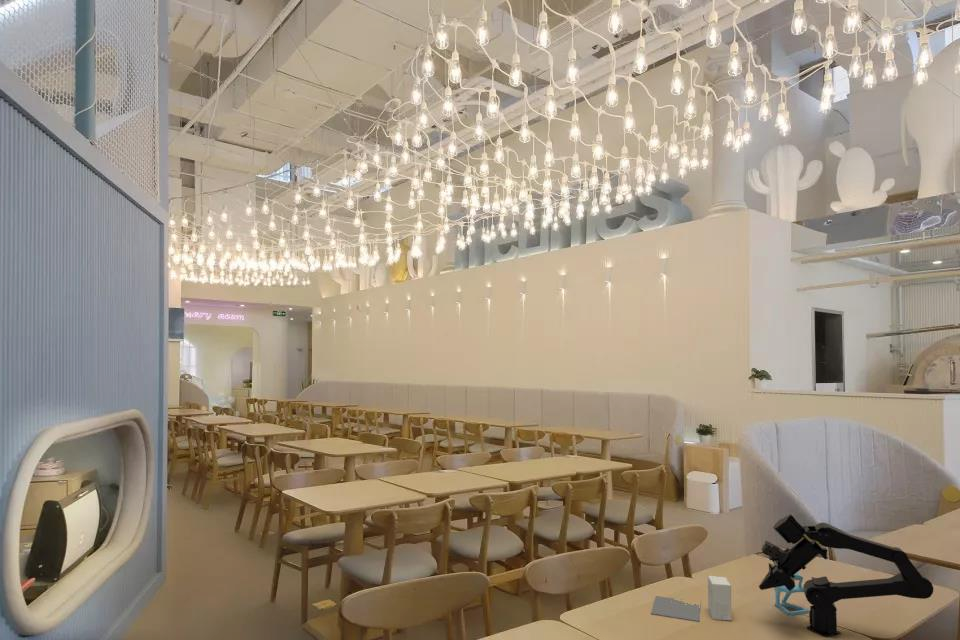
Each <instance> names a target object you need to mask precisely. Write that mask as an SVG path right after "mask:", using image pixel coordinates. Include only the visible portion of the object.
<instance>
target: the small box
mask: <svg viewBox="0 0 960 640" xmlns="http://www.w3.org/2000/svg"><path fill="white" fill-rule="evenodd" d="M707 604H708V605H707V610H708V609H709V610H708V612H709V614H710V616H711V618H712V620H717V621H719V620H720V621H732V585H731V583H730V581H729V580H728V578H727V577H726V576H714V575H708V576H707Z"/></svg>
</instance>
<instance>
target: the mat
mask: <svg viewBox="0 0 960 640" xmlns="http://www.w3.org/2000/svg"><path fill="white" fill-rule="evenodd" d="M674 599H675V598H674V597H673V598H672V597H665V596H659V595H655V598H654V602H653V605H652V608H651V613H650V615H655V616H660V617H664V618H665V617H666V618H673V619H677V620H678V619H679V620H683V621H684V620H685V621H690V622H697V623H698V622H700V615H701V607H700V608H699V605H696V604H694V605H691V604H688V603H684V602H682V601H678V600H674ZM671 601H672V602H671ZM685 604H687V605H685Z"/></svg>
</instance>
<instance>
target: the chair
mask: <svg viewBox="0 0 960 640" xmlns="http://www.w3.org/2000/svg"><path fill="white" fill-rule="evenodd" d="M793 579H794V581H799V582H798V584H797V585H798V586H797V585H796V584H795V587H794V588H793V589H792V590H791V591H789V590H788V589H787V588H786V587H785V586H779V587H774V592H775V598H774V599H775V602H774V603H775V606H776V607H778V609H780V610H781V611H782V612H784V613H785V614H786V615H788V616H790V615H791V616H798V615H806V614H808V613H809V609H807V608H805V607H802V606H799V605H795V604H792V603H789V602H787V601H788V599H789V598H790V596H791V595H792V594H793V593H804V591H803V587H802V584H803V583H802V582H803V580H804V577H803V576H802V575H801V574H800V573H799V572H797V573H796V574H795V577H794V578H793ZM781 593H785V595H784V597H783V598H782V599H780V598H781V597H780V595H781ZM780 600H781V603H780ZM786 607H787V608H790V609H794V610H791V611H790V610H789V609H787V608H786Z"/></svg>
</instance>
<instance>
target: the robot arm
mask: <svg viewBox="0 0 960 640" xmlns="http://www.w3.org/2000/svg"><path fill="white" fill-rule="evenodd" d="M772 529H773V530H774V531H775V532H776V533H777V534H778V535H779V536H780V537H781V538H782V539H783V541H785V542H786V543H787V544H790V543H791V544H792V545H794V546H792V547H791V548H790V547H786V549H782V548H781V547H780V546H778V545H776V544H774V543H772V542H771V541H768V540H765V541H764V544H763V545H762V546H761V549H760V550H761V553H762V554H763V555H765V556H768V560H769V561H772V562H773V563H772V564H771V563H770V562H769V563H768V572H767V573H766V574H765V576H764V578H763V579H762V581H761V582H760V584H759V585H758V588H759V589H760V591H764V590H769V589H773V588H774V587H779V586H785V587H786V588H787V589H788V590H789V591H791V590H792V589H793V588H794V587H795V585H796V582H795V581H796V580H794V579H793V578H794V577H795V574H796V573H799V572H800V571H802V570H803V571H804V570H806V569H807V567H806V566H807V565H808V564H809V563H811V562H812V561H813V560H815V559H816V558H817V557H818V556H821V557H822V558H823V559H824V560H827V559H828V549H827V548H829V549H830V548H831V549H836V550H837V549H838V550H839V549H840V550H841V549H843V550H851V551H853V552H854V551H855V552H858V553H861V554H863V555H867V556H871V557H874V558H878V559H879V560H880V559H881V560H885V561H888V562H890V563H893V564H894V565H895V566H896V567H897V569H898V571H899V572H900V573H896V575H893V576H891V577H888V578H887V577H886V578H878V579H867V580H866V579H865V580H855V581H841V582H833V581H830V580H829V579H828V577H827V576H821V577H814V576H811V579H808V580H806V581H805V582H804V584H803V587H802V588H803V591H804V592H803V593H804V595H805V598H806V601H807V602H808V603H809V604H810V606H809V609H810V610H808V613H809V614H808V615H809V625H806V629H808V630H810V631H812V632H814V633H816V634H819V635H821V636H823V637H831V636H836V635H841V634H842V631H841V630H840V631H839V630H838V629H837V627H838V622H837V611H838V610H837V607H836V605H835V603H837V602H838V601H840V600H841V601H842V600H848V599H849V600H850V599H862V598H875V597H886V596H900V597H905V598H910V599H920V600H921V599H922V600H923V599H924V600H925V599H930V598H931V596H932V595H933V594H934V585H933V583H932V582H931V581H930V580H929V579H928V578H927V577H926V576H925V574H923V573H922V572H919V570H918V569H917V568H916V567H915V566H914V564H913V563H912V561H911V560H910V559H909V557H908V554H906V552H905V551H904V550H903V549H901V548H899V547H895V546H891V545H887V544H883V543H880V542H876V541H874V540H869V539H866V538H863V537H859V536H856V535H853V534H850V533H847V532H845V531H843V530H842V529H839V527H835V526H833V525H832V524H829V523H827V522H819V523H817V524H816V525H803V526H802V524H801V523H800V522H799V521H798V520H797V519H796V518H795V516H794V515H793V514H792V513H789V514H788V515H786V516H784V517H782V518H780V519H779V520H778V521H777V522H776V523H775V524H774V525H773V526H772ZM822 546H823V547H822ZM774 589H775V588H774Z"/></svg>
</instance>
